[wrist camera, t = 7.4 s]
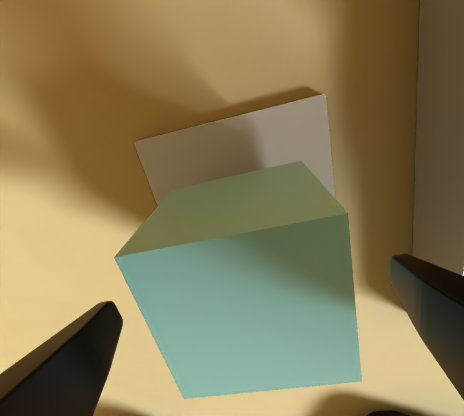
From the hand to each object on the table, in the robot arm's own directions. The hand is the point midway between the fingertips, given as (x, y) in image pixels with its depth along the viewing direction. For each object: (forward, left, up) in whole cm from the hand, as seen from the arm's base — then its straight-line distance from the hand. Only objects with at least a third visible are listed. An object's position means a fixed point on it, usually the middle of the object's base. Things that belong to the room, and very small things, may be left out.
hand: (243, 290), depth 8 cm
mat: (0, 0, -6) cm, 6 cm away
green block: (0, 0, -6) cm, 6 cm away
